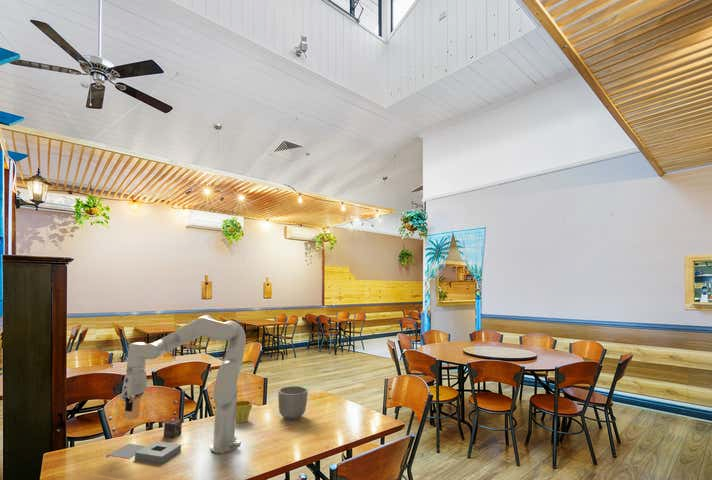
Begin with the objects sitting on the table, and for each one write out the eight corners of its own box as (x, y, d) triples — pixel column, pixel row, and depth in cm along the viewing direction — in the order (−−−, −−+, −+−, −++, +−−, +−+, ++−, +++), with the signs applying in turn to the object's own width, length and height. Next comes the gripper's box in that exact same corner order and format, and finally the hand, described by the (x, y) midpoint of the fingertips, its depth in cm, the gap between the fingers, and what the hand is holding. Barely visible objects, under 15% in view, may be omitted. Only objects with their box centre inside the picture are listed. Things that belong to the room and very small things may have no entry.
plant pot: (234, 425, 202) (235, 407, 203) (230, 419, 211) (231, 401, 212) (252, 422, 208) (253, 404, 209) (248, 416, 216) (249, 399, 217)
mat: (149, 448, 174) (149, 446, 174) (128, 459, 162) (129, 458, 163) (128, 444, 177) (128, 443, 177) (106, 456, 165) (106, 454, 165)
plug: (138, 417, 172) (140, 397, 173) (132, 419, 169) (134, 399, 170) (129, 415, 174) (132, 395, 174) (123, 418, 170) (125, 398, 171)
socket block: (180, 452, 170) (181, 444, 171) (161, 465, 159) (162, 456, 159) (155, 448, 173) (155, 441, 174) (134, 460, 162) (135, 452, 162)
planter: (282, 412, 225) (284, 385, 227) (310, 414, 222) (311, 386, 224) (272, 422, 208) (274, 393, 210) (302, 425, 206) (303, 395, 207)
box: (173, 439, 184) (174, 424, 185) (162, 438, 185) (164, 423, 186) (181, 434, 190) (182, 419, 191) (171, 433, 191) (172, 418, 192)
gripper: (128, 374, 165) (124, 416, 163) (155, 366, 181) (152, 404, 179) (114, 372, 167) (110, 414, 164) (142, 364, 183) (139, 403, 181)
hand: (132, 409), depth 172 cm, fingers closed on plug, 3 cm apart
